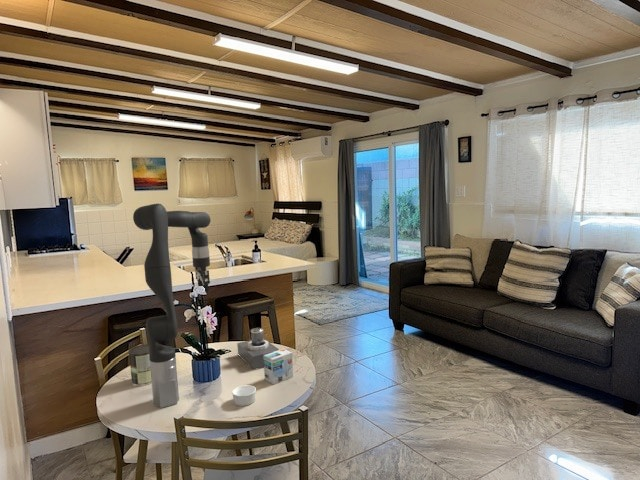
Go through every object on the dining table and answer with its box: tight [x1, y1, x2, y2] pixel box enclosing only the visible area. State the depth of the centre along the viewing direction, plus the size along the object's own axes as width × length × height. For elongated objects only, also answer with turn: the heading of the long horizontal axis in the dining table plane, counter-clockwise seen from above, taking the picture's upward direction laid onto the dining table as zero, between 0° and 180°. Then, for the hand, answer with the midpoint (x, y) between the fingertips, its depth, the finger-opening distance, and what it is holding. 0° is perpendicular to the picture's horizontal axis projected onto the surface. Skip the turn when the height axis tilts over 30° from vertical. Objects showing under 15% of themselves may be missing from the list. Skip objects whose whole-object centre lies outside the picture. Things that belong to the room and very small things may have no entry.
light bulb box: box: [263, 348, 294, 385], centre depth 180 cm, size 11×7×11 cm, turn 131°
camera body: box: [236, 338, 280, 370], centre depth 202 cm, size 20×13×8 cm, turn 31°
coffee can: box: [128, 343, 152, 387], centre depth 182 cm, size 10×10×14 cm
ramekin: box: [231, 384, 257, 407], centre depth 163 cm, size 9×9×4 cm
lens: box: [250, 327, 265, 346], centre depth 201 cm, size 6×6×8 cm
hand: (203, 290), depth 199 cm, fingers open, 8 cm apart
